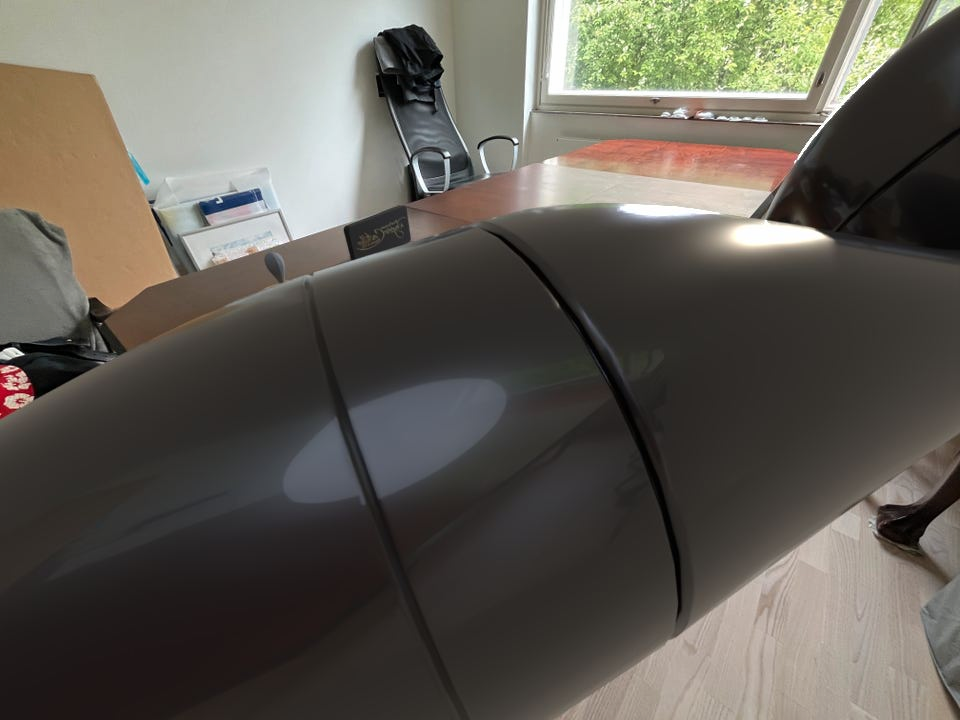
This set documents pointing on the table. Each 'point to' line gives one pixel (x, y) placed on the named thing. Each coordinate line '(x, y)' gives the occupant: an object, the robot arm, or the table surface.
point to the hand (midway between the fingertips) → (413, 441)
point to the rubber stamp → (275, 266)
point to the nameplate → (378, 232)
